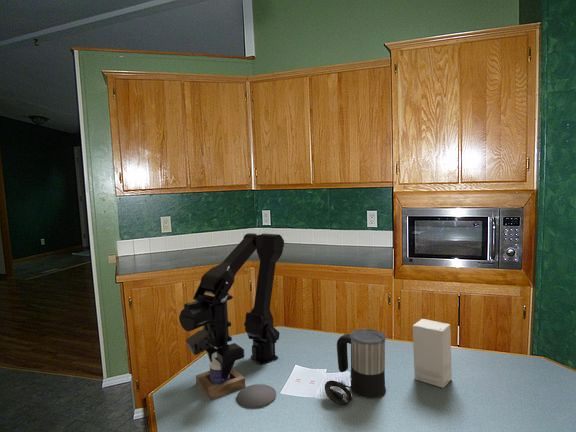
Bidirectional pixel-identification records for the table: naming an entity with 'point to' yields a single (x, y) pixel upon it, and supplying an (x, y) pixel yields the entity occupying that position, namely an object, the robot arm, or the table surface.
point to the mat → (256, 396)
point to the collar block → (223, 388)
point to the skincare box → (432, 352)
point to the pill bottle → (216, 371)
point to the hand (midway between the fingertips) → (220, 374)
